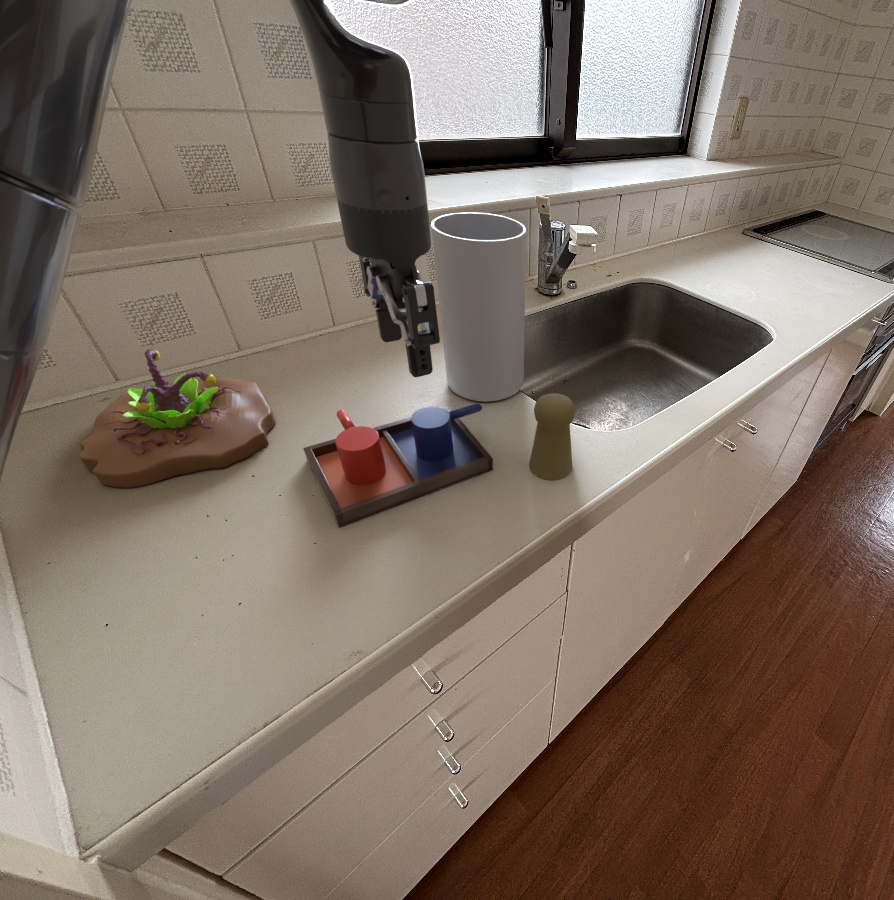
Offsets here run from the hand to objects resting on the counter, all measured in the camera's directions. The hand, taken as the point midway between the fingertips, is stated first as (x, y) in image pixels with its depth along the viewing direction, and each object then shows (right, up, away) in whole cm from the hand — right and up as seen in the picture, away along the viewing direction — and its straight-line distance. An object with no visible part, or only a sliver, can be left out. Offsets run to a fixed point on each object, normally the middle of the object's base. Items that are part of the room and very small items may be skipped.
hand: (405, 356), depth 54 cm
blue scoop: (+1, -9, +15) cm, 17 cm away
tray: (-5, -12, +11) cm, 17 cm away
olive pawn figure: (+14, -13, +15) cm, 24 cm away
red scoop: (-10, -12, +10) cm, 18 cm away
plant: (-34, -8, +12) cm, 37 cm away
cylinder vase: (+2, +1, +29) cm, 29 cm away
